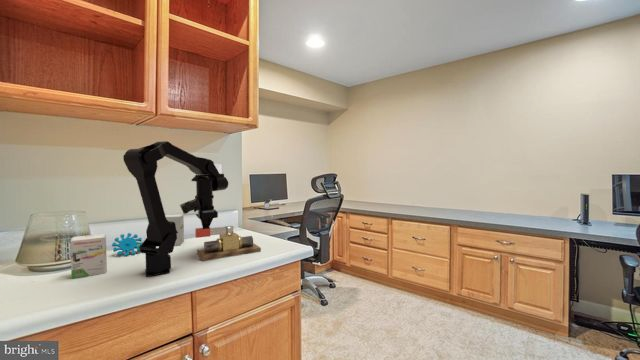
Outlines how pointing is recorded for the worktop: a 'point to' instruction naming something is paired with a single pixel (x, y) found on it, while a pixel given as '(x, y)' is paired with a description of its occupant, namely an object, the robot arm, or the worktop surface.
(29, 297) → the worktop surface
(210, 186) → the robot arm
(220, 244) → the valve pipe
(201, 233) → the valve lever
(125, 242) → the blue spiky virus toy
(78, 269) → the white pink medicine box
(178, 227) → the supplement box
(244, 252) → the mount board
